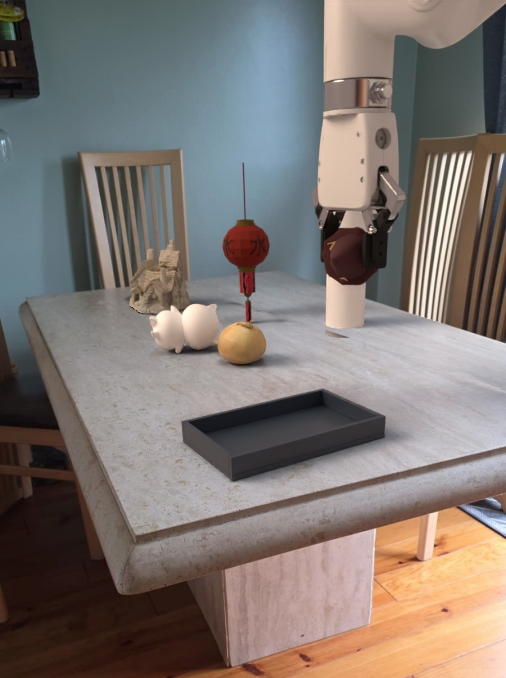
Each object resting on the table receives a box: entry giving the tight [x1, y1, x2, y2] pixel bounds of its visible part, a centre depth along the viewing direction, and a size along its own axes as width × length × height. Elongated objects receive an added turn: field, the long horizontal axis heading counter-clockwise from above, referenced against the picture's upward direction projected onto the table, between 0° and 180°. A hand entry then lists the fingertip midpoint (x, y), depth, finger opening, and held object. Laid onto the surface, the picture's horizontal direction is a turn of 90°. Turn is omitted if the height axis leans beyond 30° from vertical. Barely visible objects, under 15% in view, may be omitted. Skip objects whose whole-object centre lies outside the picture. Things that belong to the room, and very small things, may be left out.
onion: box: [217, 319, 267, 365], centre depth 101 cm, size 8×8×7 cm
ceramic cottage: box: [128, 239, 192, 315], centre depth 143 cm, size 16×16×15 cm
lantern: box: [221, 162, 271, 324], centre depth 122 cm, size 10×10×30 cm
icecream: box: [322, 227, 379, 285], centre depth 76 cm, size 7×7×15 cm
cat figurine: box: [149, 303, 221, 354], centre depth 110 cm, size 9×11×12 cm
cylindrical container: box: [325, 211, 367, 339], centre depth 113 cm, size 7×7×25 cm
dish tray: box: [180, 387, 387, 482], centre depth 72 cm, size 12×20×3 cm, turn 120°
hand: (352, 264), depth 76 cm, fingers closed on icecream, 7 cm apart
